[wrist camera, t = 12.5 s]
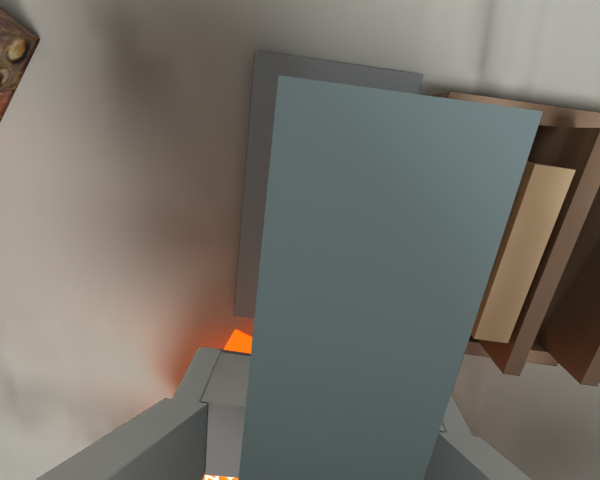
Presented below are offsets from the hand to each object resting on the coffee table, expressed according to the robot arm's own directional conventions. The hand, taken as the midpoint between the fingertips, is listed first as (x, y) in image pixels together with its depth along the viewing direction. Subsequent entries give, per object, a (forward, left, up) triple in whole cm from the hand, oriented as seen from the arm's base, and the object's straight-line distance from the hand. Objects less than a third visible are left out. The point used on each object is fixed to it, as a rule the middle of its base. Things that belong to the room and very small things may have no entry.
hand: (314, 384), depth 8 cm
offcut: (-11, 0, -17) cm, 20 cm away
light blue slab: (0, 0, -10) cm, 10 cm away
